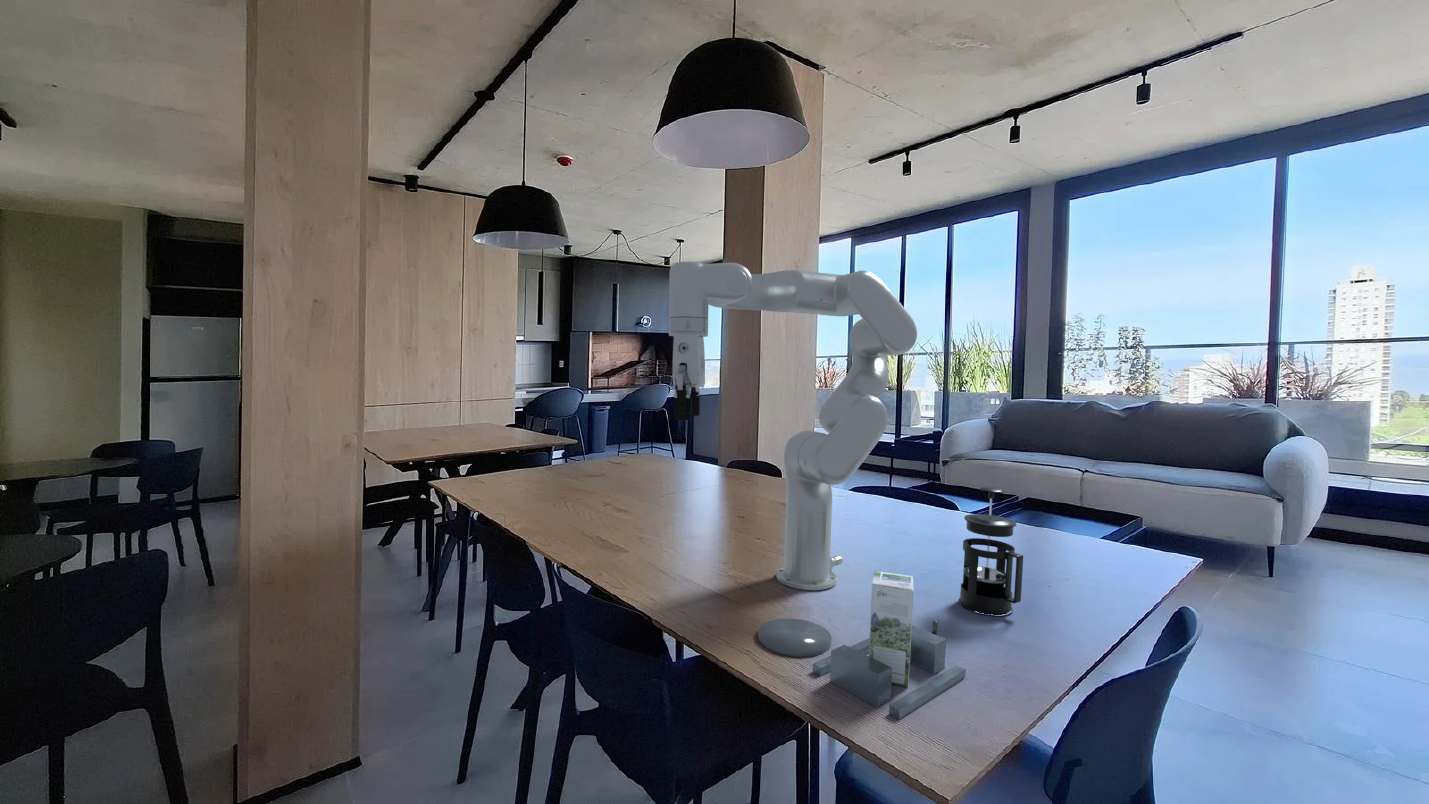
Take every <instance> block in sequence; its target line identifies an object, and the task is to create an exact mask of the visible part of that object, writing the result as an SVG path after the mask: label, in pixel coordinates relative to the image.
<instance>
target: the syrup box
mask: <svg viewBox="0 0 1429 804" xmlns="http://www.w3.org/2000/svg"><path fill="white" fill-rule="evenodd" d="M871 583H872V584H871V585H872V586H871V601H870V602H871V603H870V605H871V606H870V607H871V608H870V624H869V638H870V644H869V653H868V656H869V657H871V658H873V659H875V660H877V661H879V662H881V663H884V664H886V665H888V666H890V667H892V682H891V685H898V686H901V687H902V686H903V687H909V686H910V684H909V683H910V667H911V666H910V665H911V664H910V649H911V631H912V626H913V611H914V594H915V593H914V591H915V590H914V577H913V575H908V574H901V573H892V572H885V571H884V572H883V571H875V570H874V574H873V578H872V582H871Z"/></svg>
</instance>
